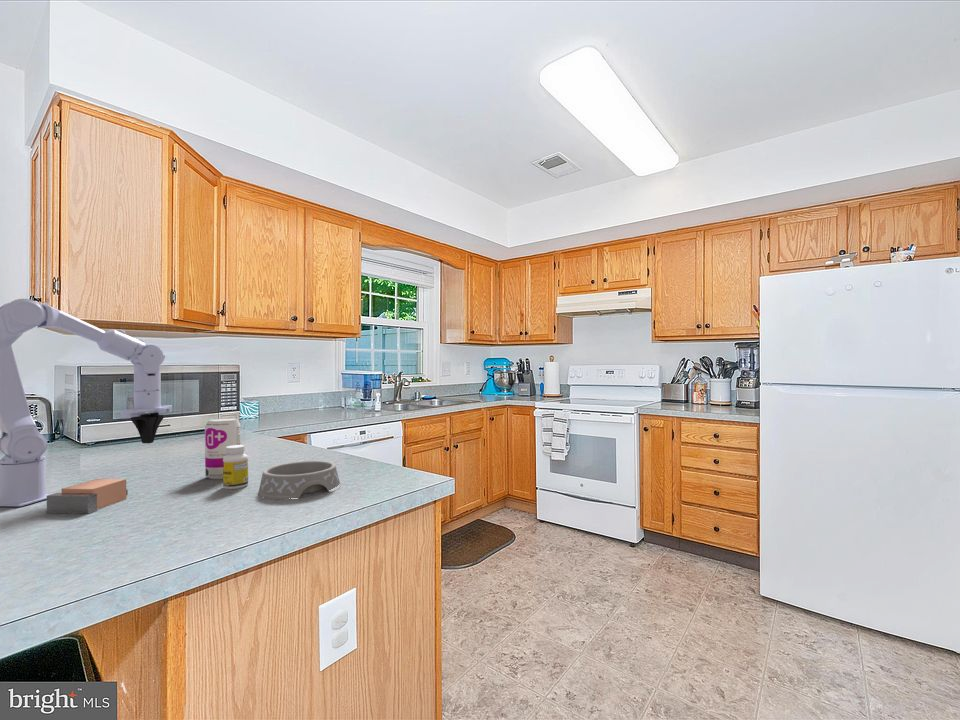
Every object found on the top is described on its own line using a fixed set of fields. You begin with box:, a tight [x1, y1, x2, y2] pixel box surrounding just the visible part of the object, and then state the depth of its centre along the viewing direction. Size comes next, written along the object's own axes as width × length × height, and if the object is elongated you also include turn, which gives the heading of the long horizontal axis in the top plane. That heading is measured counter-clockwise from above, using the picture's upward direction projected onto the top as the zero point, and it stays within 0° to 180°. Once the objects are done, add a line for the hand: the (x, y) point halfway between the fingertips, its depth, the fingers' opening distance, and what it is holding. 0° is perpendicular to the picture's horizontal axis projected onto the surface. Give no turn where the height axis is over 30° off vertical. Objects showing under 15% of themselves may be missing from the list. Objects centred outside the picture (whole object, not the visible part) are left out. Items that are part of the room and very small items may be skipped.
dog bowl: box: [257, 460, 341, 500], centre depth 109 cm, size 17×18×5 cm
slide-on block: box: [60, 478, 127, 510], centre depth 98 cm, size 7×8×4 cm
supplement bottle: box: [222, 444, 249, 490], centre depth 111 cm, size 5×5×10 cm
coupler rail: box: [46, 489, 128, 515], centre depth 99 cm, size 9×13×4 cm
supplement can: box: [204, 417, 242, 480], centre depth 122 cm, size 8×8×15 cm
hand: (147, 442), depth 119 cm, fingers closed
